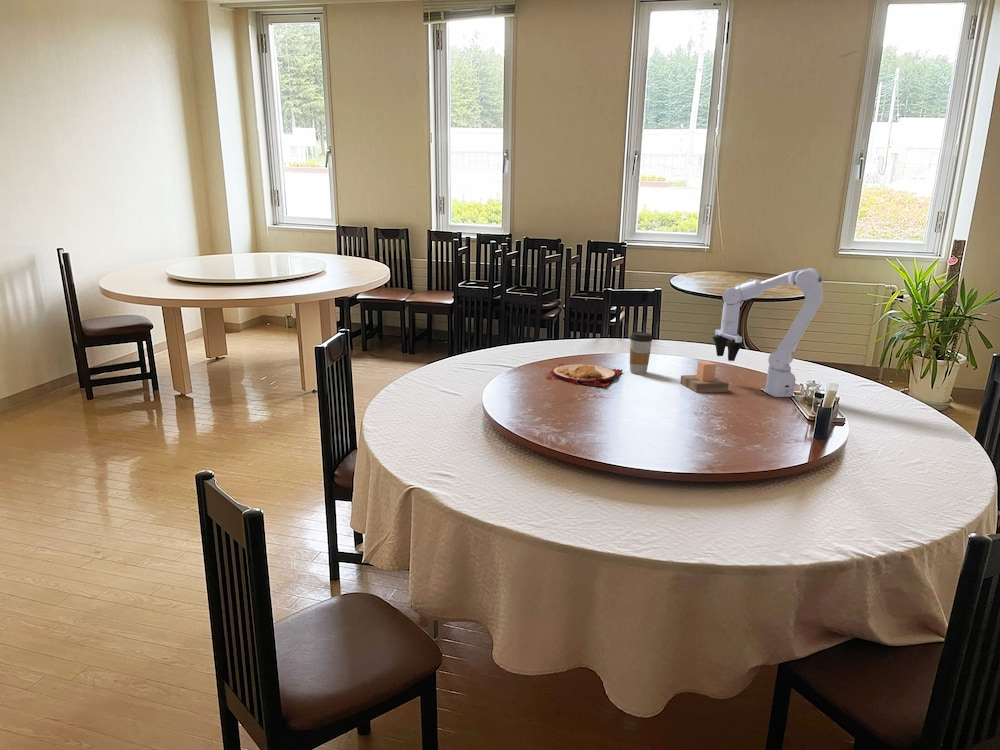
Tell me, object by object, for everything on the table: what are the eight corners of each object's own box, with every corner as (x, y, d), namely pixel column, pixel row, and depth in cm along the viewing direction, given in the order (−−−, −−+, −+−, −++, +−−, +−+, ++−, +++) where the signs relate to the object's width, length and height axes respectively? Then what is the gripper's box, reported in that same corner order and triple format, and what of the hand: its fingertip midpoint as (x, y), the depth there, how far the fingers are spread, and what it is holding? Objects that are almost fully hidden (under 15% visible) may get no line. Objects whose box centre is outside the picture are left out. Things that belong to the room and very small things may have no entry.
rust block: (714, 380, 249) (716, 364, 247) (702, 381, 248) (704, 364, 246) (707, 377, 253) (709, 361, 251) (696, 377, 252) (698, 361, 250)
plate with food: (622, 374, 268) (623, 365, 268) (605, 389, 244) (606, 379, 243) (560, 367, 277) (561, 358, 276) (538, 380, 253) (539, 371, 252)
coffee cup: (651, 375, 265) (654, 336, 262) (628, 374, 265) (632, 335, 262) (647, 370, 273) (650, 332, 270) (625, 369, 273) (628, 331, 270)
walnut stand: (727, 391, 247) (728, 383, 246) (696, 392, 244) (697, 384, 243) (710, 382, 258) (711, 374, 257) (680, 383, 255) (681, 375, 254)
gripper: (709, 317, 258) (705, 354, 261) (730, 324, 244) (726, 363, 247) (726, 317, 259) (722, 353, 263) (749, 324, 246) (744, 362, 249)
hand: (725, 358), depth 255 cm, fingers open, 7 cm apart
